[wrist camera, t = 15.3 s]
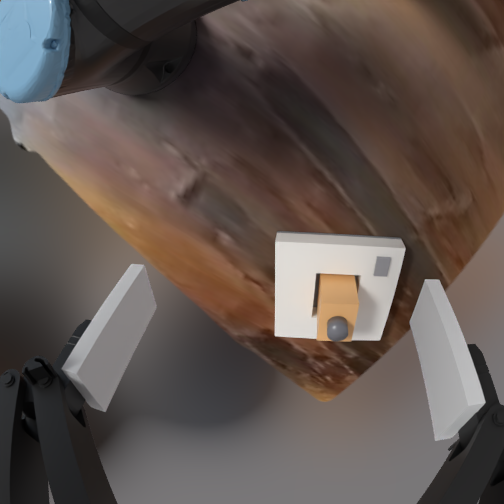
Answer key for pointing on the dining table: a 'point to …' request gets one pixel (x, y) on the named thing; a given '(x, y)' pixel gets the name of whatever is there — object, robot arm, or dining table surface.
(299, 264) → the socket
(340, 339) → the plug
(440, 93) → the dining table surface
